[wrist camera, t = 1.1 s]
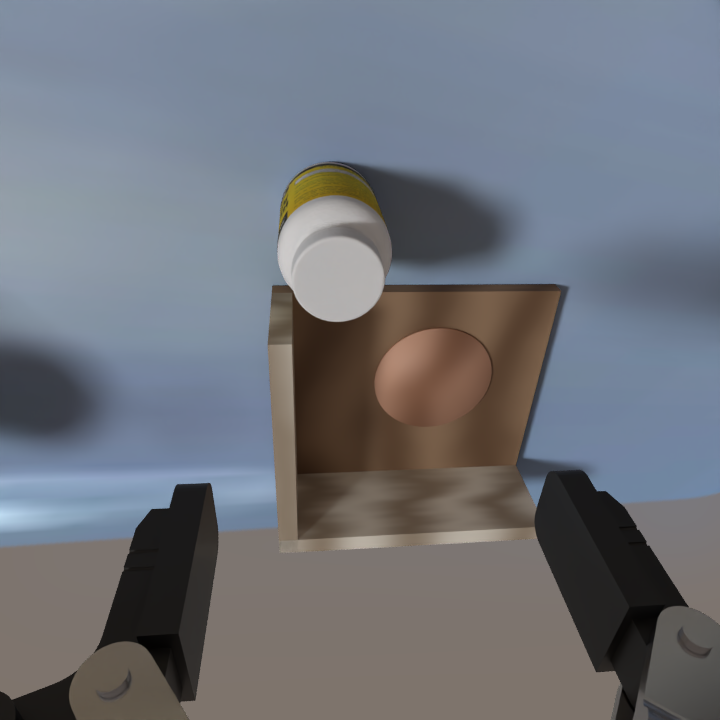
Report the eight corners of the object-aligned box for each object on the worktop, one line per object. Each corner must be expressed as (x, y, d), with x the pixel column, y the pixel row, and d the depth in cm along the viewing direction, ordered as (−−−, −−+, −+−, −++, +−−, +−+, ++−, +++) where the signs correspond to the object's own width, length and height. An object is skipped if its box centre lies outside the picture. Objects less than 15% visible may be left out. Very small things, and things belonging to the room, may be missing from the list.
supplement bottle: (269, 169, 30) (260, 231, 22) (367, 151, 30) (396, 206, 22) (291, 261, 33) (291, 346, 25) (381, 244, 33) (410, 324, 25)
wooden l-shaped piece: (554, 284, 35) (606, 339, 30) (508, 467, 44) (541, 538, 38) (272, 285, 33) (267, 344, 28) (281, 477, 42) (279, 553, 36)
